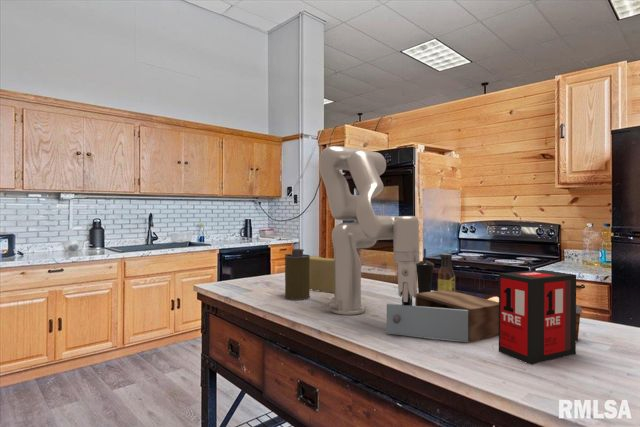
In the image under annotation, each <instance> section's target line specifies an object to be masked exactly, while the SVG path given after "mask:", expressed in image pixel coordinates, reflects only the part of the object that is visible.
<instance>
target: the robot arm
mask: <svg viewBox="0 0 640 427" xmlns="http://www.w3.org/2000/svg"><path fill="white" fill-rule="evenodd" d="M386 169H387V160H386V158H385V157H384V156H383V154H381V153H379V152H378V151H377V152H375V151H370V150H366V149H361V148H356V147H349V146H340V145H331V146H327V147H325V148H323V149H322V151H321V153H320V155H319V159H318V170H319V173H320V176H321V179H322V181H323V183H324V187H325V191H326V195H327V196H326V197H327V202H328V205H329V210H330V214H331V216H332V218H333V219H335V220H337V221H349V222H341V223H337V224H336V225H335V226H334V227H333V229H332V231H331V241H332V242H331V243H332V247H333V257H334V258H333V259H334V267H335V271H334V293H333V296H334V297H331V299H330V300H329V301H328V300H327V301H322V302H321V306H322V307H323V308H326V307H327V308H329V311H330V312H332V313H334V314H336V315H337V314H338V315H344V316H345V315H347V316H349V315H351V316H352V315H353V316H354V315H361V314H363V313H365V312H366V306H364V305H362V299H361V298H362V260H361V257H360V255H359V252H358V251H357V249H367V248H372V247H374V245H375V244H376V243H377V241H379V240H380V241H382V240H383V241H384V240H386V241H387V240H388V241H389V240H393V263H395V264H397V287H398V289H397V291H398V296H399V297H400V298H401V305H410V306H414V305H413V298H415V297H416V295H417V293H418V281H417V268H416V263H419V262H420V261H421V260H420V222H419V221H420V220H419V218H418V217H417V216H414V215H400V216H399V215H376V213H375V211H374V208H373V205H372V199H374V198H375V197H377V196H379V194H381V193H382V191H384V183H383V181H382V179H381V177H380V176H381V175H382V174H384V173H385V171H386ZM340 170H342V171H348V172H349V173H350V175H351V177H352V180H353V183H354V184H355V187H356V189H357V192H358V194H352V193H351V191H350V186H349V182H348V181H347V178H346V177H345V175H343V174H342V173H341V171H340ZM351 221H354V222H351Z"/></svg>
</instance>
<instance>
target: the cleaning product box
mask: <svg viewBox="0 0 640 427" xmlns="http://www.w3.org/2000/svg"><path fill="white" fill-rule="evenodd" d="M498 302H499V336H498V353H501V354H503V355H505V356H508V357H511V358H513V359H515V358H516V360H518V361H520V360H521V361H520V362H523V363H525V362H526V364H527V365H530V364H531V365H535V364H540V363H543V362H548V361H552V360H556V359H561V358H565V357H569V356H574V355H577V341H576V306H577V274H573V273H566V272H559V271H554V270H547V269H535V270H525V271H513V272H502V273H501V272H499V273H498ZM539 362H540V363H539Z"/></svg>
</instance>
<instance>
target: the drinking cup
mask: <svg viewBox="0 0 640 427" xmlns="http://www.w3.org/2000/svg"><path fill="white" fill-rule="evenodd" d="M426 250H427V249H426V248H424V249H423V260H419V261H420V262H419V263H416V268H417V293H424V292H432V283H433V274H434V266H435V263H433V262H431V261H429V260H426V259H427V258H426V257H427V256H426V254H427V253H426V252H427V251H426Z"/></svg>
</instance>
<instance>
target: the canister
mask: <svg viewBox="0 0 640 427" xmlns="http://www.w3.org/2000/svg"><path fill="white" fill-rule="evenodd" d="M304 251H305V250H304V249H303V248H293V249H292V253H285V254H284V281H285V283H284V288H285V290H284V292H285V293H284V295H285V296H284V299H286V300H290V301H304V299H305V300H309V299H310V297H311V296H310V290H309V280H310V256H311V255H310V254H304ZM308 298H309V299H308Z"/></svg>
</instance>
